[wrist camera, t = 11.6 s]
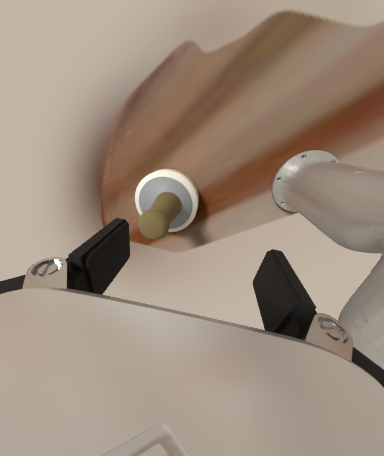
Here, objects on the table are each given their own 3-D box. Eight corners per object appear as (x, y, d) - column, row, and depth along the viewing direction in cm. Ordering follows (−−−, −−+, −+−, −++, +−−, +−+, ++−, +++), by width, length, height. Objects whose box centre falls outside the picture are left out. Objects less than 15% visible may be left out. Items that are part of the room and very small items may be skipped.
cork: (186, 199, 34) (175, 222, 24) (175, 222, 37) (161, 250, 27) (160, 186, 33) (138, 204, 23) (151, 210, 36) (128, 235, 26)
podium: (204, 174, 35) (202, 178, 31) (193, 228, 42) (191, 237, 38) (143, 162, 36) (133, 165, 32) (142, 218, 43) (135, 226, 39)
